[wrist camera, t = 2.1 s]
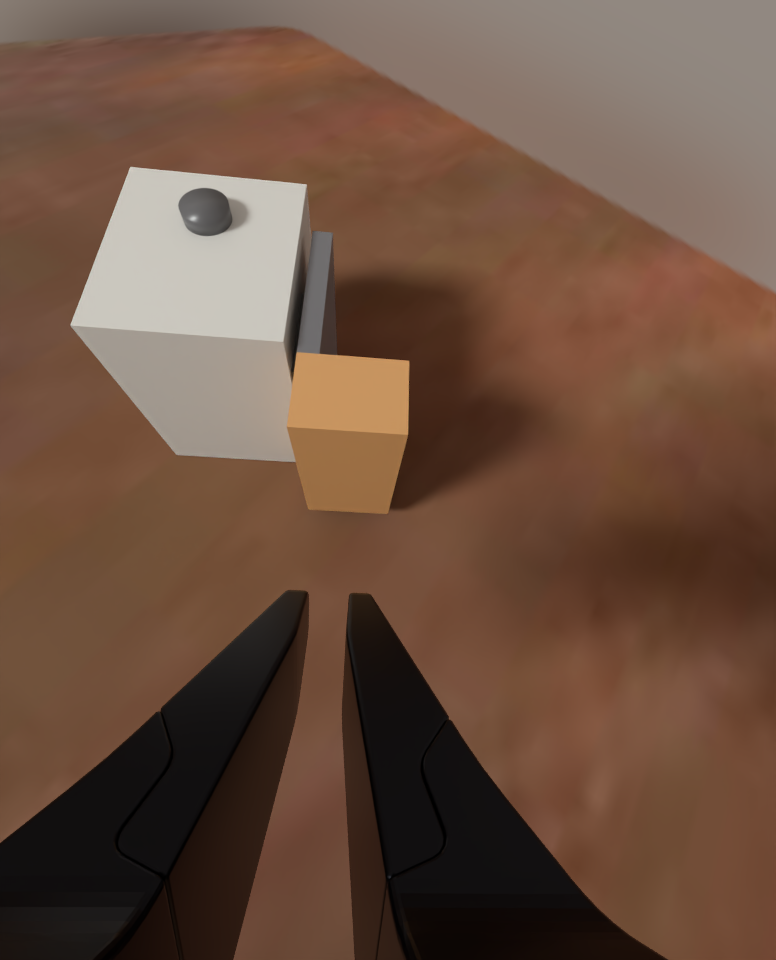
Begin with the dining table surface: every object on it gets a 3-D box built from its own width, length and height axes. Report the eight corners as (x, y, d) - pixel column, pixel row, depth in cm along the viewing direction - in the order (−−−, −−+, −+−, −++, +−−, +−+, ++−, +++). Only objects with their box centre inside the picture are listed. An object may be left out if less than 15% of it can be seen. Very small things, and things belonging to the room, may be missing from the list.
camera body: (309, 463, 25) (283, 330, 15) (176, 455, 24) (59, 312, 14) (324, 320, 28) (312, 139, 19) (210, 311, 28) (135, 120, 18)
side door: (387, 513, 23) (408, 434, 15) (308, 509, 23) (286, 426, 15) (392, 366, 26) (411, 240, 18) (323, 361, 26) (312, 230, 18)
